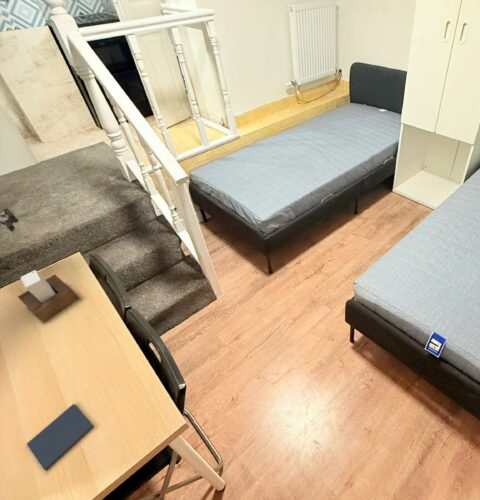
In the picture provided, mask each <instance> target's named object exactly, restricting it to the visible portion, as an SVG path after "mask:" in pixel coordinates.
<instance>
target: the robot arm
mask: <svg viewBox="0 0 480 500" xmlns="http://www.w3.org/2000/svg"><path fill="white" fill-rule="evenodd" d="M2 211H3V212H1V213H0V228H7V229H8V230H9V231H10V232H11V233H12V232H14V231H15V229H16V227H15V225H14V223H15V224H16V223H18V222H19V219H18V218H17V217H16V216H15V214H14V213H13V212H12V211H11V210H9V208H8V207H7V208H4V209H3V210H2Z"/></svg>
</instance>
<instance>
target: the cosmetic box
mask: <svg viewBox="0 0 480 500" xmlns="http://www.w3.org/2000/svg"><path fill="white" fill-rule="evenodd" d="M20 280H21V282H22V283H23V285H24V287H25V289H26V291H29V292H31V293H32V294H33V295H34V296H35V297H36V298H37V299H38V300H39V301H40V302H41V304H42V303H43V302H45V301H46V300H48V299H49V298H51V297H52V296H54V295H55V294H57V292H56V291H55V290H54V289H53V288H52V286H51V285H50V284H49V283H48V282H47V281H46V279H45V278H44V277H43V276H42V275H41V274H40V272H38V271H37V270H36V269H33V270H32V271H30V272H28V273H26V274H24V275H21V276H20Z"/></svg>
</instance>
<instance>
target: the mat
mask: <svg viewBox="0 0 480 500" xmlns="http://www.w3.org/2000/svg"><path fill="white" fill-rule="evenodd" d="M93 428H94V425H93V423H91V422H90V421H89V419H88V417H86V415H85V414H84V413H83V412H82V411H81V410H80V409H79V408H78V406H77V405H76V404H75V403H73V404H71V405H70V406H69V407H67V409H66V410H64V411H62V413H60V415H59V416H57V417H56V418H55V419H53V420H52V421H51V422H50V423H49V424H48V425H47V426H45V427H44V428H43V429H42V430H41V431H40V432H39V433H37V434H36V435H35V436H33V438H31V439H30V440H29V441H28V442H27V443H26V445H27V447H28V448H29V449H30V451H31V453H32V455H34V457H35V458H36V459H37V461H38V463H39V464H40V465H41V467H42V468H43V470H44V471H47V470H49V469H50V468H51V467H52V466H53V465H54V464H55V463H56V462H57V461H59V459H60V458H62V457H63V456H64V455H65V454H66V453H68V451H69V450H71V448H72V447H74V446H75V445H76V444H77V443H78V442H79V441H80V440H81V439H82V438H83V437H84V436H86V435H87V433H89V432H90V431H91V430H92V429H93Z"/></svg>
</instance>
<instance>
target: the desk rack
mask: <svg viewBox="0 0 480 500" xmlns="http://www.w3.org/2000/svg"><path fill="white" fill-rule="evenodd" d="M45 280H46V281H47V282H48V283H49V284H50V285H51V286H52V288H53V289H54V290H55V291H56V292H57V294H55V295H54V296H52V297H51V298H49V299H48V300H46V301H45V302H43V303H41V302H40V301H39V300H38V299H37V298H36V297H35V296H34V295H33V294H32V293H31V292H29V291H28V290H26V291H24V292H23V293H21V294H19V295H18V296H17V298H18V299H19V300H20V301H21V302H22V303H23V304H24V305H25V306H26V308H28V310H29V311H30V312H32V314H33V315H34V316H36V317H37V318H38V319H39V320H40V321H41V322H42V323H43V324H44V323H46V322H47V321H49V320H50V319H52V318H53V317H55V316H56V315H58V314H59V313H61V312H62V311H63V310H65V309H67V308H68V307H70V306H71V305H73V304H74V303H75V302H77V301H78V300H80V297H79V296H78V295H77V293H76V292H75V291H74V290H73V289H72V288H71V287H70V286H68V284H66V283H65V281H63V280H62V279H61V278H60V277H58V275H56V274H55V273H54V274H53V275H50V276H49V277H47V278H46V279H45Z"/></svg>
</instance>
